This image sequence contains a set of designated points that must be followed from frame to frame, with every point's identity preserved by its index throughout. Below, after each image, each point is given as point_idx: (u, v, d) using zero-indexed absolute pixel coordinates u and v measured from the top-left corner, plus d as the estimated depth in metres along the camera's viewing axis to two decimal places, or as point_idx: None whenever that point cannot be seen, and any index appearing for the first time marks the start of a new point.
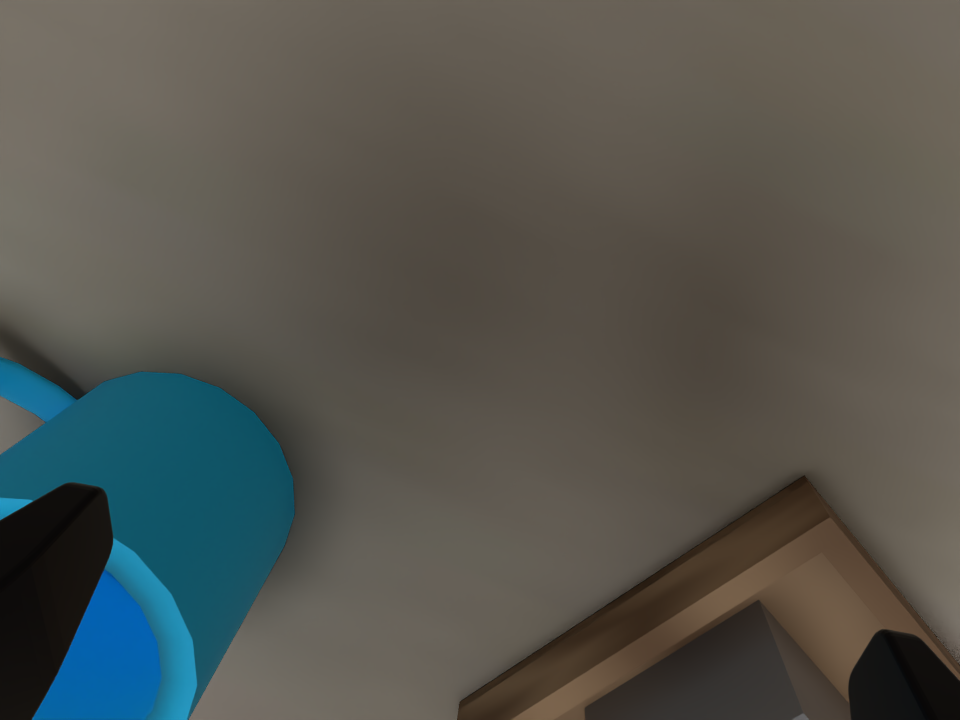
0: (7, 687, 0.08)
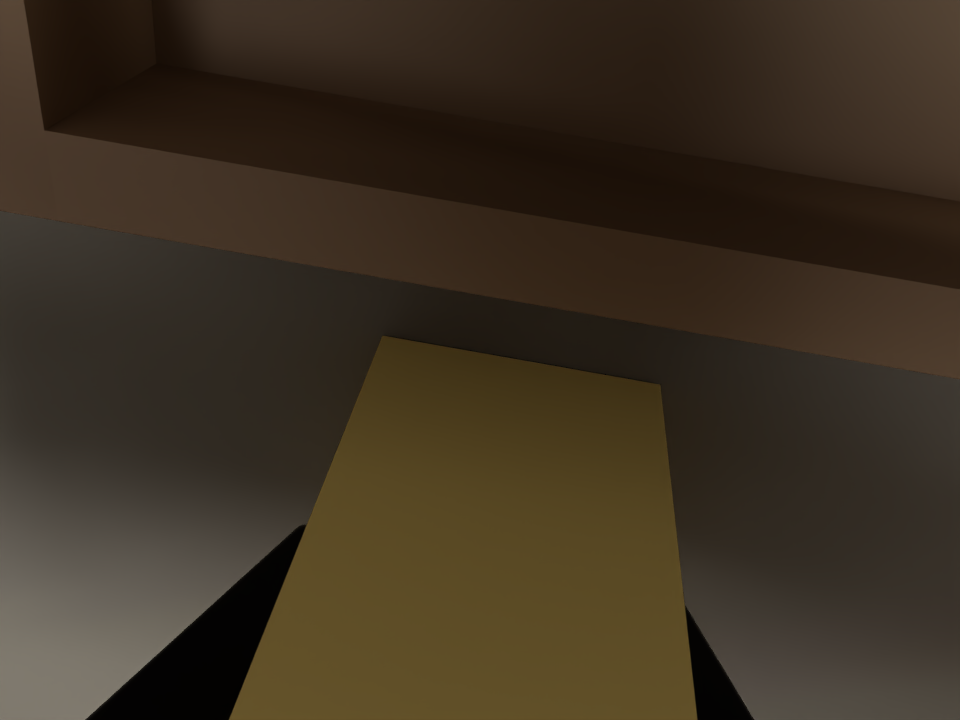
0: None
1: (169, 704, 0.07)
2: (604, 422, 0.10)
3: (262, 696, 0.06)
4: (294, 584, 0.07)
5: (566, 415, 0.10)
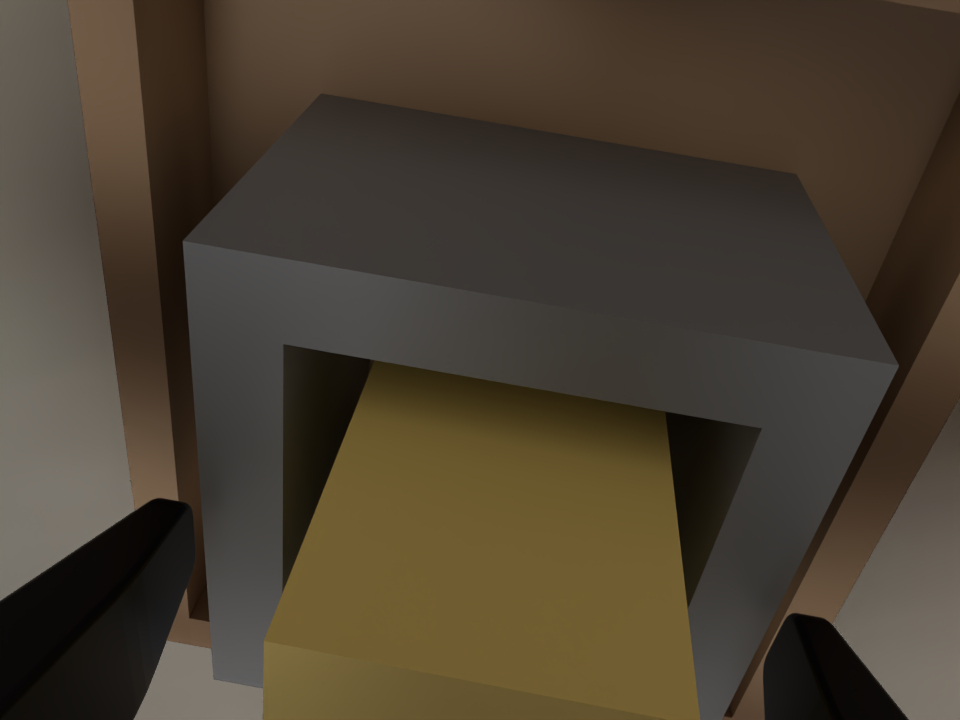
0: (106, 706, 0.08)
1: None
2: None
3: (367, 421, 0.09)
4: (381, 364, 0.10)
5: None
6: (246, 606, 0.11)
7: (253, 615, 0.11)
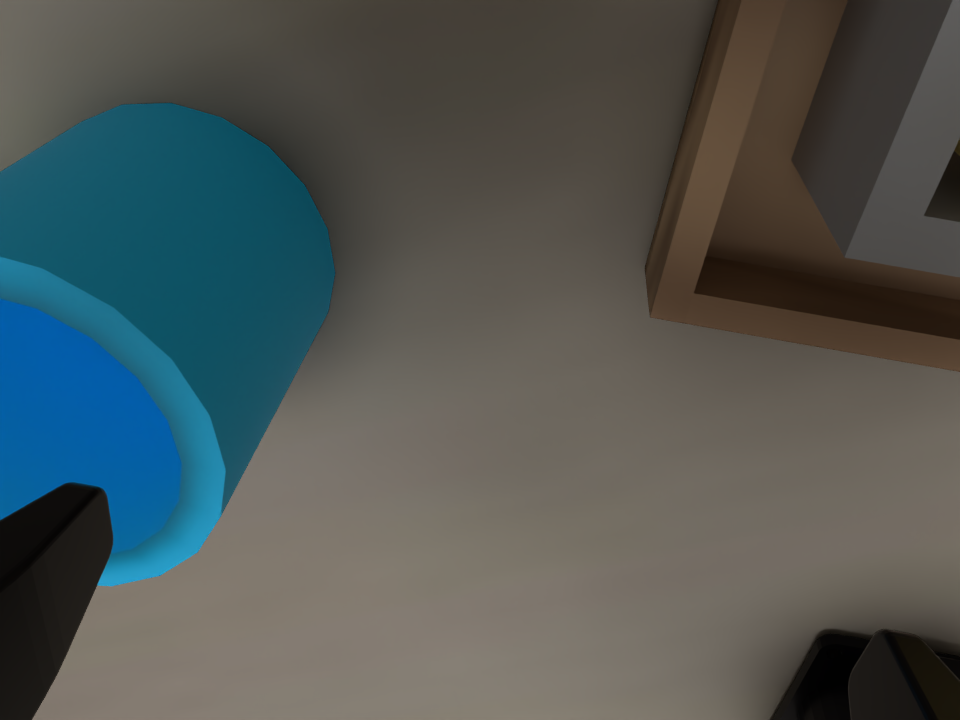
0: (7, 687, 0.08)
1: None
2: None
3: None
4: None
5: None
6: (913, 171, 0.14)
7: (915, 180, 0.14)
